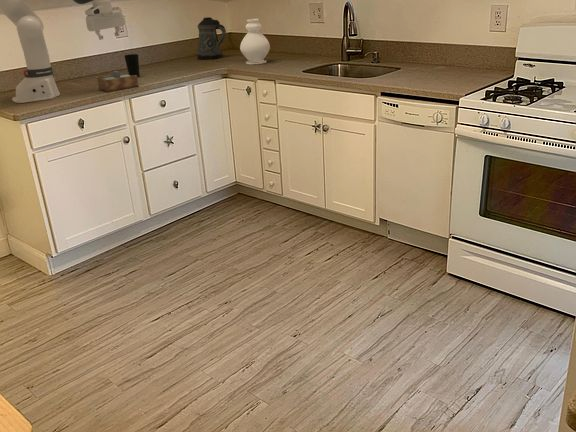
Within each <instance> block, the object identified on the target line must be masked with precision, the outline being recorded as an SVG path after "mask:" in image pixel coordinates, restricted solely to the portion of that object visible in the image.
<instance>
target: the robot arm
mask: <svg viewBox="0 0 576 432" xmlns="http://www.w3.org/2000/svg"><path fill="white" fill-rule="evenodd" d="M72 1H73V2H74V3H76V4H78V5H82V6H83V5H86V4H89V3H91V4H92V6H91V7H89V8H88V9H86V10H85V11H84V13H85V14H84V15H85V16H86V17H85V23H86V28H87V30H88V31H89V32H95V34H96V35H97V37H98V39H99V40H104V36H103V35H101V30H107V29H113V28H114V29H115V32H114V36H115V37H119V36H120V30H121V27H122V26H125V24H126V21H125V18H124V15H123V11H122V8H121V7H119V6H112V0H72ZM0 12H1V13H2V14H3V15H5V17H7V18H8V20H9V21H10V22H12V23H13V24H14V26H16V31H17V35H18V39H19V43H20V47H21V48H22V51H23V52H22V53H23V55H24V59H25V64H26V65H25V66H26V69H25V70H24V69H21V70H20V73H21V75H24V78H23V79H22V80H21V81H20V82H19V84H17V85H16V86H15V96H13V97H12V98H11V99H12V102H13V103H17V104H23V103H31V102H39V101H45V100H52V99H54V98H56V97H59V96H60V95H61V93H60V91H59V89H58V86H57V84H56V80H55V73H54V69H53V66H52V65H51V59H50V55H49V50H48V48H47V44H46V41H45V40H46V39H45V36H44V32H43V31H44V22H43V20H42V19H41V18H40V17H39V16H38V14H36V12H35V11H33V9H32V8H31V7H30V6H29V5H28V4H27V3H26V1H24V0H0Z"/></svg>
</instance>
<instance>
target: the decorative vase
mask: <svg viewBox="0 0 576 432" xmlns="http://www.w3.org/2000/svg"><path fill="white" fill-rule="evenodd" d="M259 21H260V19H259V18H250V19H249V18H248V19H246V22H247V23H246V25H245V29H246V30H247V31H248V32H247V33H246V34H245V36H244V37H243V39H242V40H241V42H240V45H239V50H240V52H241V54H242V55H243V56H244V57H245V58H246V59H247V61H246V62H245V64H246V65H260V64H262V65H263V64H266V63H267V60H265V58H266V56H267V55H268V54H269V52H270V49H271V45H270V42H269V40H268V38H267V37H266V36H265V35H264V34H263V33H262V32H261V31H260V30H261V29H262V27H263V26H262V24H261V23H260V22H259Z"/></svg>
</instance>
